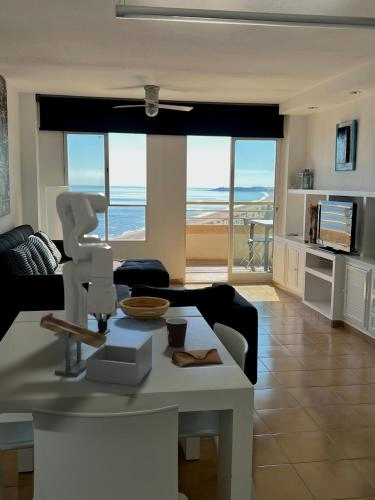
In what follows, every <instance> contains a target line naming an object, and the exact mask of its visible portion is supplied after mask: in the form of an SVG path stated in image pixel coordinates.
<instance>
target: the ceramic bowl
mask: <svg viewBox="0 0 375 500" xmlns="http://www.w3.org/2000/svg"><path fill="white" fill-rule="evenodd" d="M118 304H119V309H120V311H121V312H122V313H123V314H124V315H125V316H127V317H129V318H131V319H132V320H133V321H135V322H141V323H146V322H147V323H149V322H153V321H156V320H157V319H158V318H160V317H162V316H163V315H165V314H166V313H167V312H168V310H169V308H170V305H171V302H170V301H169V300H167V299H165V298H160V297H151V296H138V297H137V296H136V297H128V298H125V299H122V300H120V301H119V302H118Z"/></svg>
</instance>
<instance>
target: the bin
mask: <svg viewBox="0 0 375 500" xmlns="http://www.w3.org/2000/svg"><path fill="white" fill-rule="evenodd" d="M85 360H86V369H85V372H86V373H85V375H86V376H85V377H86V381H92V382H101V383H110V384H119V385H128V386H133V387H134V386H135V387H138V386H139V385H140V384H141V383H142V381H143V380H144V379H145V377H147V375H148V374H149V372H150V371H152V368H153V334H150V335H148V337H146V339H144V341H142V342H141V344H140V345H139V346H138V347H135V346H125V345H116V344H115V345H114V344H106V343H104V344H103V345H102V346H101V347H99V348H97V350H95V352H93V353H92V354H91V355H89V357H87V358H86V359H85ZM135 363H136V364H135Z"/></svg>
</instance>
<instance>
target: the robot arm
mask: <svg viewBox="0 0 375 500" xmlns="http://www.w3.org/2000/svg"><path fill="white" fill-rule="evenodd" d="M108 207H109V202H108V199H107V197H106V195H105V194H104V193H103V192H99V191H98V192H93V191H92V192H90V191H66V192H64V191H63V192H61V193H59V194H58V195H56V198H55V208H56V212H57V213H56V214H57V217H59V221H60V223H61V229H62V241H63V250H64V254H65V256H67V257H68V258H72V260H70V261H67V262H65V263H64V264H63V265H62V267H61V273H62V279H63V288H64V290H63V291H64V321H67V322H70V323H72V324H75V325H81V327H83V328H86V329H88V330H91V329H90V328H89V315H90V316H93V317H94V318H95V320H96V322H97V329H98V330H99V332H102V333H104V332H105V331H106V330H107V329H108V320H110V318H114V317H117V316H118V295H117V288H116V284H114V249H113V246H110V245H109V244H108V243H106V242H102V240H101V237H100V236H99V235H97V234H92V232H94V231H95V230H96V229H97V228H98V226H99V219H98V218H99V217H98V216H97V214H105V213H106V212H107V210H108ZM85 283H90V284H89V285H88V288H87V289H88V290H87V289H86V288H85V287H84V286H83V284H85ZM61 336H62V337H63V338H65V336H64V335H61Z"/></svg>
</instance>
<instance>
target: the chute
mask: <svg viewBox="0 0 375 500" xmlns="http://www.w3.org/2000/svg"><path fill="white" fill-rule="evenodd" d="M39 327H41V328H44V329H46V330H49V331H51V332H54V333H57V334H58V335H60V336H62V335H64V336H65V333H66V332H70V339H72V340H75V341H76V342H77V341H80V342H81V344H85V345H88V346H90V347H93V348H95V349H100V348H101V347H102V346H103V345H104V344H106V342H107V339H108V336H106V335H108V334H109V333H110V332H111V329H109V328H107V330H106V331H105V332H104V333H102V332H99V329H98V330H97V331H93V330H92V329H90V330H88V329H89V328H88V329H86V328H83V327H80V326H78V325H75V324H72V323H70V322H67V321H65V319H61V318H58V317H57V316H54V313H53V312H49V313H48V314H46V315H44V316H41V319H40V322H39Z"/></svg>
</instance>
